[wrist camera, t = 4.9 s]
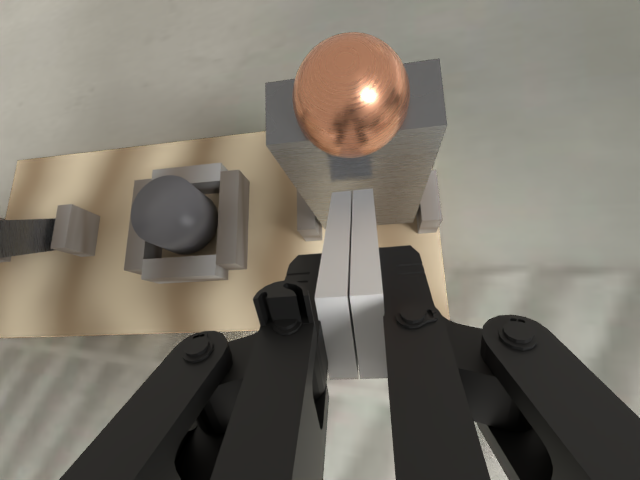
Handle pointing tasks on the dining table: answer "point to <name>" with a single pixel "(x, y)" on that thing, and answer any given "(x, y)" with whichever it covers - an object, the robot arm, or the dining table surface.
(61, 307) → the switch board
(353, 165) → the copper ball grey stand
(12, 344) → the dining table surface
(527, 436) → the robot arm
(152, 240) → the charcoal button
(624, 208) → the dining table surface
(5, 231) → the grey lever handle
